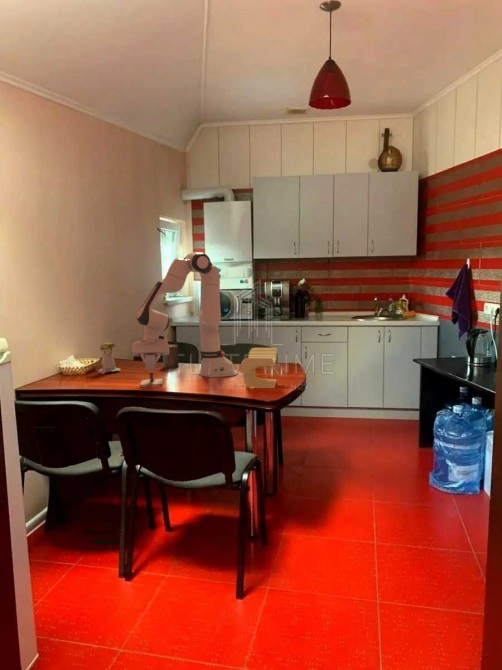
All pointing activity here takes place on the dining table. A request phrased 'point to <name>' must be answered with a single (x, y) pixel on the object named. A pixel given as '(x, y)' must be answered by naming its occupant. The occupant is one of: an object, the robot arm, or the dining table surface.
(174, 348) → the pillar candle
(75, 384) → the dining table surface
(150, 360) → the grey rectangular block
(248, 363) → the wooden slatted rack
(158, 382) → the post
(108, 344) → the beige sitting figure
